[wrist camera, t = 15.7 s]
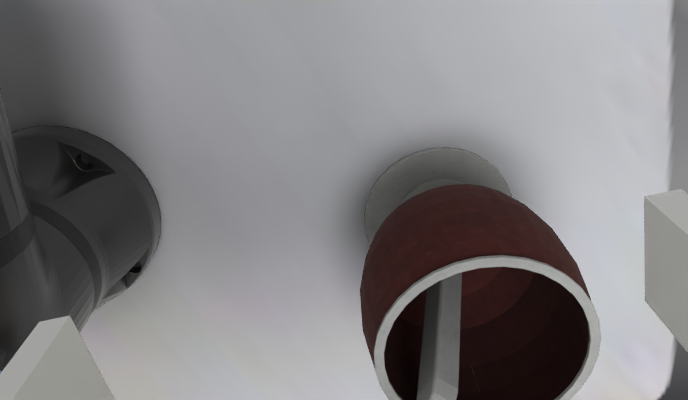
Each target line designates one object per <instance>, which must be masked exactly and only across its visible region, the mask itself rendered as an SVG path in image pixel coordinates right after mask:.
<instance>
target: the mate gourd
mask: <svg viewBox="0 0 688 400" xmlns="http://www.w3.org/2000/svg"><path fill="white" fill-rule="evenodd" d="M365 229H366V234H367V237H368V241H369V244H370V248H369V251H368V253H367V256H366V259H365V265H364V270H363V276H362V282H361V288H360V296H361V311H362V325H363V332H364V335H365V339H366V342H367V345H368V349H369V352H370V355H371V358H372V361H373V365H374V368H375V371H376V374H377V377H378V381H379V384H380V386H381V388H382V390H383V391H384V393H385V395H386V396H387V398H388V399H389V400H570V399H571V398H572V397H573V396H574V395H575V394H576V393H577V392H578V391H579V390H580V389H581V388H582V386H583V385H584V383H585V382H586V380H587V379H588V377H589V376H590V374H591V373H592V370H593V368H594V365H595V363H596V360H597V358H598V355H599V348H600V342H601V332H600V322H599V318H598V316H597V313H596V310H595V308H594V305H593V303H592V301H591V298H590V296H589V293H588V290H587V288H586V285H585V283H584V280H583V278H582V275H581V273H580V271H579V268H578V266H577V263H576V262H575V260H574V259H573V257H572V256H571V255H570V253H569V252H568V250H567V249H566V247H565V246H564V245H563V243H562V242H561V240H560V239H559V238H558V236H557V235H556V234H555V232H554V231H553V229H552V228H551V227H550V226H549V225H548V224H546V223H545V222H544V221H543V220H542V219H541V218H540V217H539V216H537V215H536V214H535V213H534V212H533V211H531V210H530V209H529V208H528V207H527V206H525V205H524V204H522V203H521V202H519V201H517V200H515V199H513V198H512V195H511V193H510V190H509V188H508V185H507V183H506V182H505V180H504V179H503V178H502V176H501V175H500V173H499V172H498V170H497V169H496V168H494V167H493V166H492V165H491V164H490V163H489V162H488V161H487V160H485V159H483V158H481V157H479V156H478V155H476V154H474V153H471V152H468V151H465V150H462V149H455V148H446V147H445V148H431V149H427V150H423V151H419V152H415V153H413V154H411V155H409V156H407V157H404V158H402V159H401V160H399V161H398V162H396V163H395V164H394V165H392V166H391V167H389V168H388V169H387V170H386V171H385V172H384V173H383V175H382V176H381V177H380V178H379V179H378V181H377V182H376V184H375V185H374V187H373V188H372V190H371V193H370V195H369V198H368V200H367V204H366V210H365Z"/></svg>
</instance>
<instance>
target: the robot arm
mask: <svg viewBox="0 0 688 400" xmlns="http://www.w3.org/2000/svg"><path fill="white" fill-rule="evenodd" d="M160 231H161V218H160V211H159V206H158V203H157V200H156V197H155V194H154V192H153V190H152V188H151V186H150V184H149V182H148V181H147V179H146V178H145V176H144V175H143V174H142V172H141V171H140V170H139V169H138V167H137V166H136V165H135V164H134V163H133V162H132V161H131V160H130V159H129V158H128V157H127V156H125V155H124V154H123V153H122V152H121V151H119V150H118V149H116V148H115V147H114V146H112V145H110V144H109V143H107V142H105V141H104V140H102V139H100V138H98V137H95V136H93V135H91V134H88V133H85V132H82V131H79V130H75V129H71V128H66V127H58V126H37V127H30V128H25V129H21V130H18V131H15V132H13V133H11V129H10V125H9V121H8V117H7V113H6V109H5V105H4V101H3V97H2V93H1V89H0V400H115V398H114V396H113V395H112V393H111V391H110V389H109V387H108V385H107V383H106V382H105V380H104V378H103V376H102V374H101V372H100V370H99V369H98V367H97V365H96V363H95V361H94V359H93V358H92V356H91V354H90V352H89V350H88V348H87V346H86V345H85V343H84V341H83V339H82V337H81V335H80V331H81V330H82V328H83V326H84V325H85V323H86V322H87V320H88V318H89V316H90V315H91V313H92V312H93V311H94V310H95V309H97V308H99V307H100V306H102V305H103V304H105V303H106V302H108V301H109V300H111V299H113V298H114V297H116V296H117V295H119V294H120V293H122V292H123V291H125V290H126V289H128V288H129V287H130V286H131V285H132V284H133V283H134V282H135V281H136V280H137V279H138V278H139V277H140V276H141V274H142V273H143V272H144V270H145V269H146V267H147V265H148V263H149V262H150V260H151V258H152V256H153V254H154V252H155V250H156V248H157V245H158V242H159V238H160ZM644 233H645V301H646V302H647V304H648V305H649V306H650V307H651V309H652V310H653V311H654V312H655V313H656V315H657V316H658V317H659V318H660V319H661V321H662V322H663V323H664V324H665V325H666V327H667V328H668V329H669V330H670V331H671V333H672V334H673V335H674V336H675V338H676V339H677V340H678V341H679V342H680V344H681V345H682V346H683V347H684V348H685V350H686V351H687V352H688V194H687V193H685V192H684V191H683V190H682V189H679V190H674V191H669V192H664V193H660V194H655V195H650V196H645V197H644Z"/></svg>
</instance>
